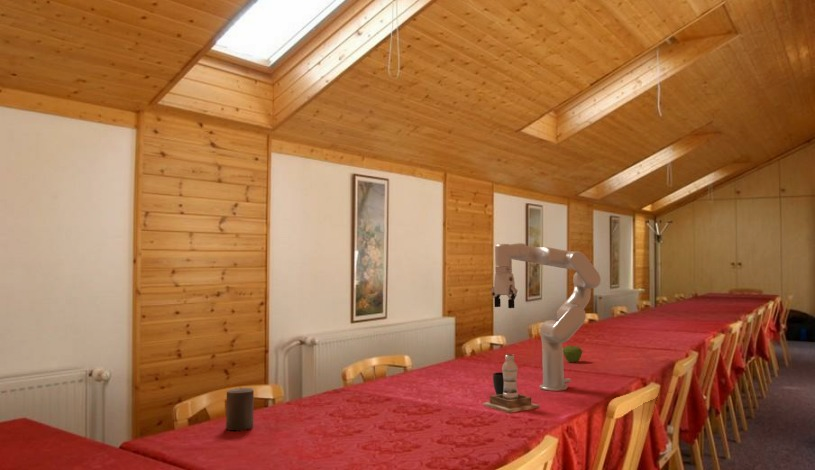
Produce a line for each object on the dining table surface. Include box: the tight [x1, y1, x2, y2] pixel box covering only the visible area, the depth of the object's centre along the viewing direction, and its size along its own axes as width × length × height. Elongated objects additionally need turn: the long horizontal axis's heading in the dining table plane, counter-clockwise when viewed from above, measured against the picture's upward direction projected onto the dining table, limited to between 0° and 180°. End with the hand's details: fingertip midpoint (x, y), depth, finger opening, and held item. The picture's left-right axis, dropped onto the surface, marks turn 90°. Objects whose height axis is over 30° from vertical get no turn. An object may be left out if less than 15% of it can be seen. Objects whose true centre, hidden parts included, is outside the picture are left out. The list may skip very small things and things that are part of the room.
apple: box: [563, 345, 583, 363], centre depth 362 cm, size 11×10×10 cm
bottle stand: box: [482, 393, 540, 414], centre depth 255 cm, size 16×16×4 cm
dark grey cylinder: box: [225, 387, 255, 432], centre depth 228 cm, size 10×10×15 cm
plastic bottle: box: [501, 353, 519, 400], centre depth 256 cm, size 6×7×20 cm
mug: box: [492, 371, 518, 395], centre depth 275 cm, size 8×12×10 cm
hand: (504, 307), depth 287 cm, fingers open, 9 cm apart
